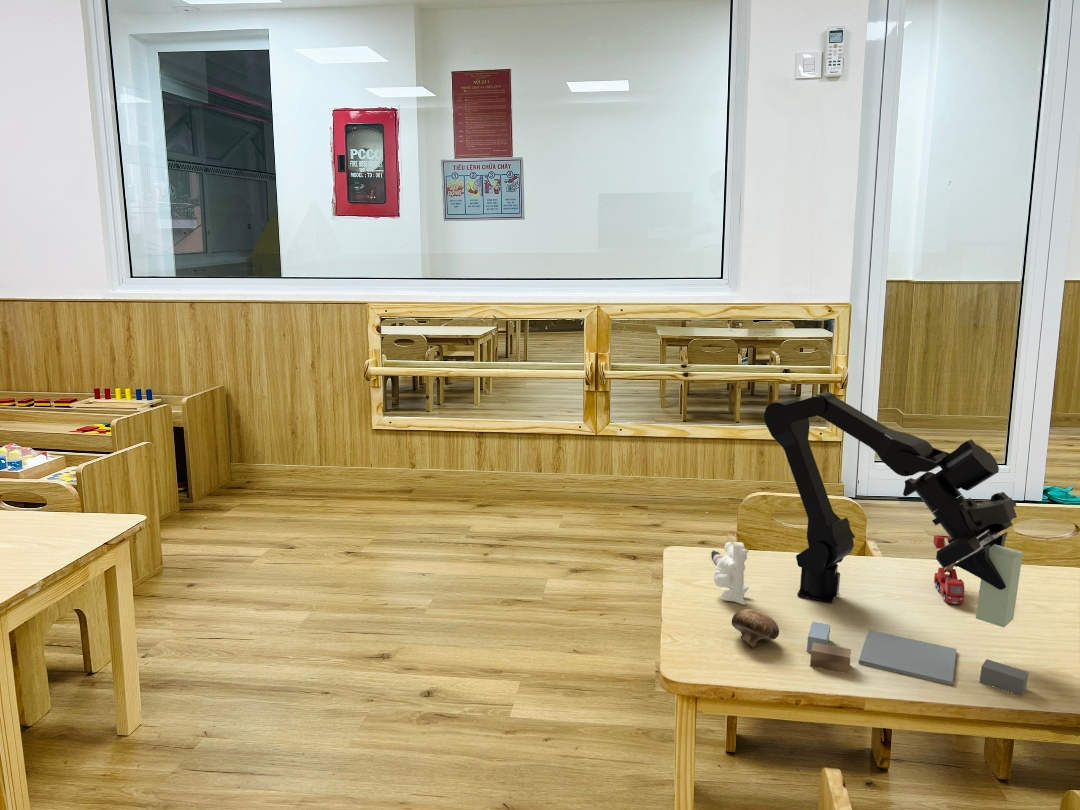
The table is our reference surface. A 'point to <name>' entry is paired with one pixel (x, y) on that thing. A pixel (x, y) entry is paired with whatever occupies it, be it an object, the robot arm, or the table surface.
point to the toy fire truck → (948, 577)
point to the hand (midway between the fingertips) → (1008, 584)
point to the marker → (716, 557)
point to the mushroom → (754, 626)
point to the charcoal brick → (1004, 677)
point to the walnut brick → (830, 657)
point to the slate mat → (909, 657)
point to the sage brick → (997, 602)
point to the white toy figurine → (732, 572)
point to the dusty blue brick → (818, 634)
